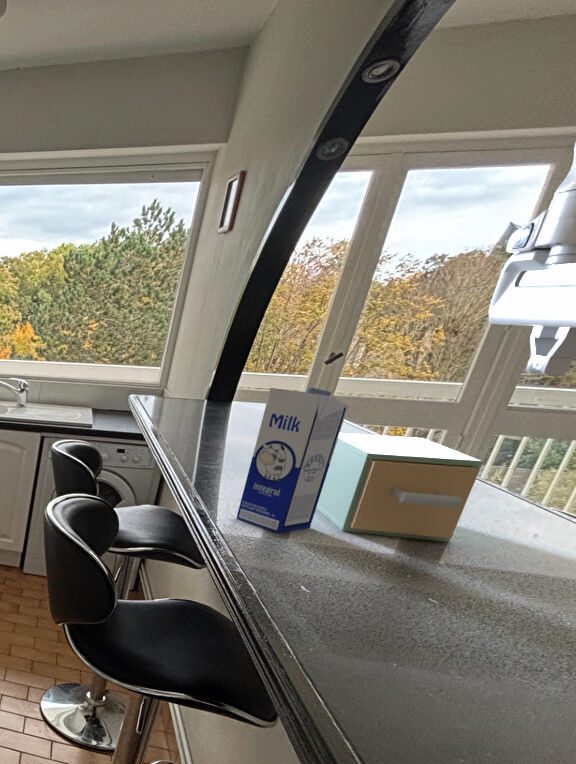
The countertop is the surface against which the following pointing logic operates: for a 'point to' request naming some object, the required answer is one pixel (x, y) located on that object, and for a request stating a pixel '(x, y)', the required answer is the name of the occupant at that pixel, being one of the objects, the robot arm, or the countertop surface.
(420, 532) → the drawer
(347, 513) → the cabinet
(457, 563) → the countertop surface
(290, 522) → the milk carton
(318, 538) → the countertop surface
